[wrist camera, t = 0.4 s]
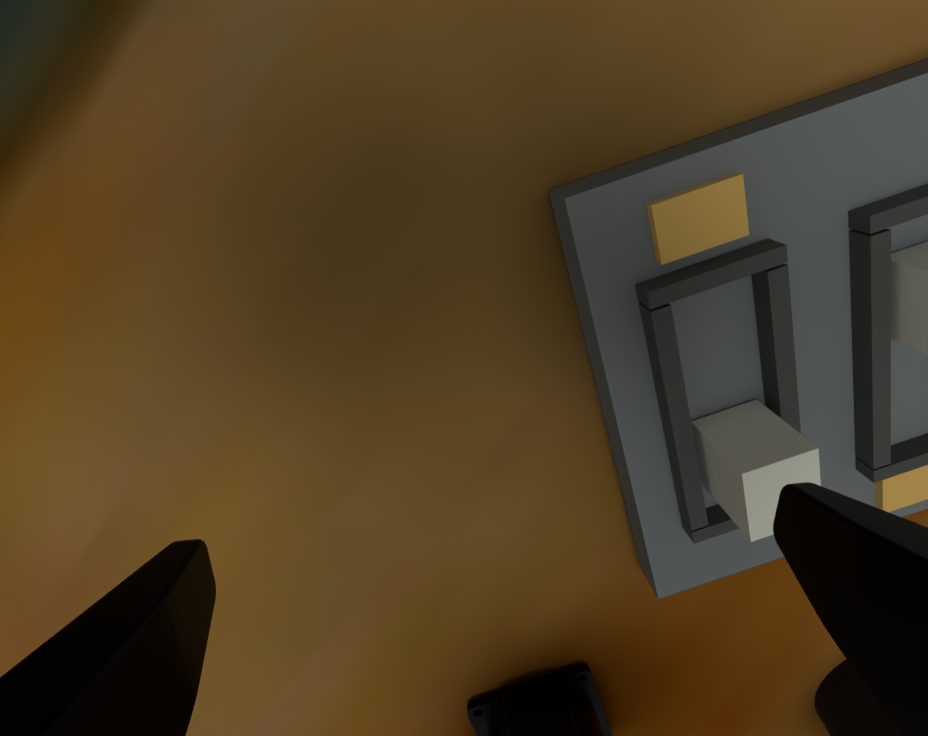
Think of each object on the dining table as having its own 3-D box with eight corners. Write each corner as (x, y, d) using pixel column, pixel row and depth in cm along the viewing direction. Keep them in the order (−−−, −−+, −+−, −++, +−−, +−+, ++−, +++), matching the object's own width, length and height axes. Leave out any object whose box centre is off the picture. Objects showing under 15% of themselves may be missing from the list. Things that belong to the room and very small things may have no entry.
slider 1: (763, 462, 24) (822, 517, 21) (701, 483, 24) (750, 542, 21) (756, 399, 22) (818, 448, 19) (690, 421, 22) (741, 474, 19)
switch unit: (1111, 408, 28) (1190, 441, 25) (640, 566, 28) (668, 616, 25) (1195, -35, 20) (1322, -56, 17) (548, 189, 20) (573, 203, 18)
